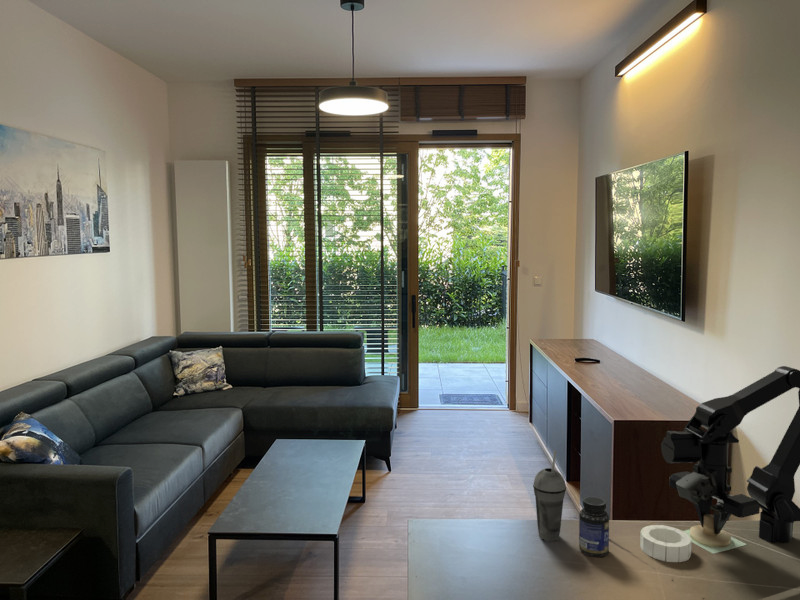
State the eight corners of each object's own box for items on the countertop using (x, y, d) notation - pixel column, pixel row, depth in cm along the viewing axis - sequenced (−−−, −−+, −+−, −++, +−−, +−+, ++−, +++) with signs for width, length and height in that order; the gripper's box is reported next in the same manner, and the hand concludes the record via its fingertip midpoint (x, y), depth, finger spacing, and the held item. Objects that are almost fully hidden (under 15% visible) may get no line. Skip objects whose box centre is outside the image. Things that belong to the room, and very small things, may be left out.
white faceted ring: (664, 539, 132) (665, 522, 132) (700, 559, 123) (701, 541, 123) (630, 547, 128) (631, 529, 128) (665, 569, 120) (666, 550, 119)
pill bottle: (610, 559, 124) (611, 508, 123) (580, 556, 125) (581, 505, 124) (606, 544, 130) (607, 496, 129) (577, 542, 131) (578, 494, 130)
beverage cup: (531, 528, 138) (531, 444, 136) (563, 529, 137) (564, 445, 135) (533, 543, 131) (534, 455, 129) (567, 545, 130) (569, 456, 128)
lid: (708, 527, 136) (708, 506, 135) (739, 543, 128) (740, 521, 128) (681, 534, 133) (682, 512, 132) (712, 550, 125) (713, 527, 125)
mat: (707, 528, 137) (707, 524, 137) (746, 548, 128) (747, 544, 128) (674, 536, 133) (674, 532, 133) (713, 557, 124) (713, 553, 124)
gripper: (651, 453, 135) (649, 519, 136) (723, 482, 117) (720, 558, 119) (688, 446, 139) (686, 511, 140) (762, 474, 122) (759, 547, 123)
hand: (710, 530), depth 130 cm, fingers closed on lid, 3 cm apart
